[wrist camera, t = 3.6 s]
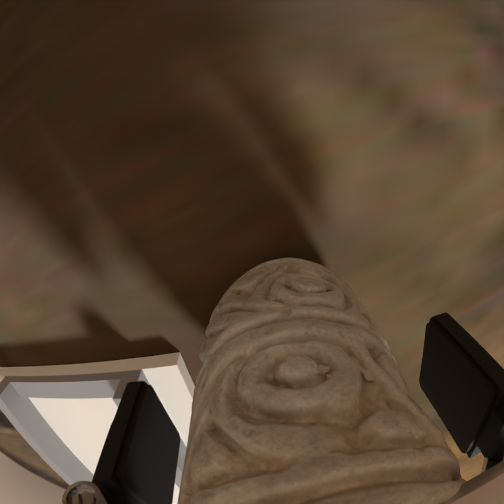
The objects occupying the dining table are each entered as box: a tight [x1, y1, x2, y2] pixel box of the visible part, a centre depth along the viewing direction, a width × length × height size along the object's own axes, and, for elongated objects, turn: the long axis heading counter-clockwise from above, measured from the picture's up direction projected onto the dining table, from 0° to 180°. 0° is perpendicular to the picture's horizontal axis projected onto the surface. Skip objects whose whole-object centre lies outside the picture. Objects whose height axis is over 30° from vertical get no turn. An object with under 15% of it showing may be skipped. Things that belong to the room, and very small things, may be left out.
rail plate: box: [0, 352, 195, 504], centre depth 17 cm, size 22×14×3 cm, turn 12°
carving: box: [178, 257, 467, 504], centre depth 8 cm, size 6×8×12 cm
